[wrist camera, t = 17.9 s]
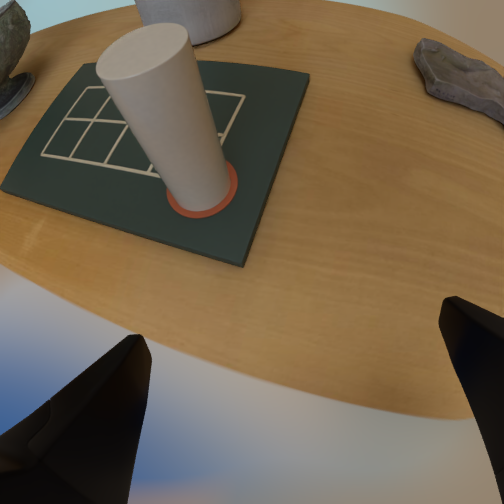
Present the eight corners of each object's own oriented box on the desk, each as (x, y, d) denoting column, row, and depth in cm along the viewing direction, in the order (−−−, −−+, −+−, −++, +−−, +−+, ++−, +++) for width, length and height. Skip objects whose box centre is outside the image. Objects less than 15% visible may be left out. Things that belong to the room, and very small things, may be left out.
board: (243, 268, 23) (241, 263, 22) (4, 192, 28) (-2, 187, 27) (309, 80, 28) (309, 72, 27) (86, 68, 34) (83, 63, 33)
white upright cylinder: (243, 187, 23) (207, 38, 11) (192, 223, 23) (112, 93, 11) (209, 150, 25) (162, 14, 13) (162, 183, 24) (85, 59, 12)
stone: (510, 93, 27) (522, 73, 23) (520, 144, 24) (537, 123, 20) (412, 47, 30) (419, 23, 26) (408, 90, 27) (418, 62, 23)
